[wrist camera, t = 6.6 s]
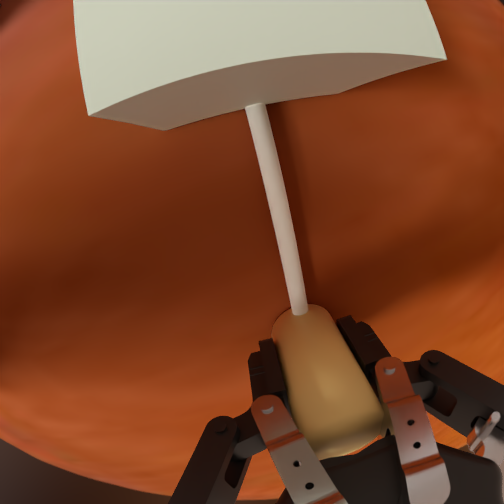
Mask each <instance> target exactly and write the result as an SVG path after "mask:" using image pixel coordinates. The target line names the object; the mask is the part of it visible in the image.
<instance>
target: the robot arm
mask: <svg viewBox="0 0 504 504" xmlns="http://www.w3.org/2000/svg"><path fill="white" fill-rule="evenodd" d="M336 325H337V327H338V329H339V331H340V332H341V334H342V336H343V338H344V339H345V341H346V343H347V345H348V346H349V348H350V350H351V352H352V353H353V355H354V357H355V359H356V360H357V362H358V364H359V366H360V367H361V369H362V371H363V373H364V375H365V376H366V378H367V380H368V382H369V384H370V385H371V387H372V389H373V391H374V393H375V395H376V396H377V398H378V400H379V402H380V404H381V406H382V409H383V411H384V416H383V421H382V425H381V429H380V434H379V435H378V440H377V441H376V442H374V443H373V444H371V445H370V446H368V447H367V448H365V449H364V450H362V451H360V452H359V453H357V454H354V455H346V456H338V457H330V458H326V459H323V460H320V461H319V460H318V458H317V456H316V455H315V453H314V452H313V450H312V448H311V447H310V445H309V443H308V442H307V440H306V438H305V437H304V435H303V434H302V433H301V432H299V430H298V429H297V427H296V425H295V423H294V422H293V420H292V416H291V412H290V408H289V404H288V396H287V392H286V388H285V384H284V380H283V377H282V373H281V369H280V365H279V361H278V357H277V353H276V349H275V345H274V342H273V338H270V339H266V340H262V341H259V346H260V351H258V352H254V353H251V355H250V357H249V360H248V366H249V374H250V381H251V389H252V396H253V403H252V405H251V407H250V408H249V410H248V411H246V412H245V413H244V414H242V415H240V416H238V417H235V418H231V417H228V416H218V417H216V418H213V419H212V420H211V421H209V423H208V424H207V426H206V428H205V430H204V432H203V434H202V436H201V438H200V440H199V442H198V444H197V446H196V449H195V451H194V453H193V455H192V457H191V459H190V461H189V463H188V465H187V467H186V469H185V471H184V473H183V475H182V477H181V479H180V481H179V483H178V485H177V487H176V489H175V491H174V493H173V495H172V497H171V499H170V501H169V503H168V504H235V501H236V499H237V496H238V493H239V491H240V488H241V485H242V483H243V480H244V477H245V475H246V472H247V469H248V466H249V463H250V460H251V458H252V455H254V454H256V453H259V452H261V451H263V450H265V449H266V448H267V449H268V451H269V453H270V455H271V458H272V460H273V462H274V464H275V466H276V468H277V470H278V472H279V474H280V476H281V478H282V480H283V482H284V484H285V486H286V488H285V489H284V491H283V493H282V494H281V496H280V498H279V499H278V501H277V502H276V504H504V503H503V497H502V473H501V470H500V468H499V466H500V465H501V463H502V461H503V460H504V385H502V384H500V383H498V382H496V381H495V380H493V379H491V378H489V377H487V376H485V375H483V374H482V373H480V372H478V371H476V370H474V369H472V368H470V367H468V366H467V365H465V364H463V363H461V362H459V361H457V360H455V359H454V358H452V357H450V356H448V355H446V354H444V353H442V352H440V351H437V350H430V351H427V352H425V353H424V354H423V355H422V356H421V358H420V360H418V361H411V362H402V361H401V360H400V359H398V358H396V357H392V356H391V355H390V353H389V352H388V351H387V349H386V348H385V346H384V345H383V344H382V342H381V341H380V339H379V338H378V337H377V335H376V334H375V333H374V331H373V330H372V328H371V327H370V326H369V325H368V324H366V323H364V322H362V321H361V322H358V323H356V322H355V321H354V319H353V318H352V317H351V316H350V315H349V316H346V317H343V318H340V319H337V320H336ZM426 411H427V412H429V413H430V414H432V415H433V416H435V417H436V418H438V419H439V420H441V421H442V422H444V423H445V424H447V425H448V426H450V427H451V428H453V429H455V430H456V431H458V432H459V433H461V434H462V435H464V436H465V437H467V444H468V446H469V450H471V451H474V453H475V454H471V453H468V452H464V451H461V450H458V449H455V448H452V447H449V446H446V445H443V444H440V443H437V442H435V438H434V435H433V432H432V428H431V425H430V422H429V419H428V416H427V413H426Z"/></svg>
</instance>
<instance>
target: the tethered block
mask: <svg viewBox="0 0 504 504" xmlns="http://www.w3.org/2000/svg"><path fill="white" fill-rule="evenodd" d="M73 4H74V22H75V34H76V43H77V52H78V60H79V67H80V73H81V79H82V85H83V91H84V96H85V101H86V106H87V111H88V116H92V117H98V118H104V119H110V120H115V121H120V122H126V123H131V124H135V125H140V126H145V127H149V128H154V129H158V130H162V131H166V130H169V129H172V128H176V127H179V126H182V125H185V124H188V123H192V122H195V121H199V120H202V119H206V118H209V117H213V116H217V115H221V114H225V113H229V112H233V111H237V110H242V109H245V110H246V114H247V118H248V122H249V126H250V129H251V133H252V137H253V141H254V145H255V149H256V153H257V157H258V162H259V166H260V170H261V174H262V178H263V182H264V186H265V191H266V195H267V199H268V203H269V208H270V212H271V216H272V221H273V225H274V230H275V234H276V238H277V243H278V247H279V252H280V257H281V261H282V266H283V270H284V275H285V280H286V284H287V289H288V294H289V299H290V304H291V308H290V309H289V310H287V311H285V312H284V313H283V314H282V315H280V316H279V318H278V319H277V320H276V322H275V323H274V325H273V328H272V333H271V336H272V338H273V342H274V345H275V349H276V353H277V357H278V361H279V365H280V369H281V373H282V377H283V380H284V384H285V388H286V392H287V396H288V404H289V408H290V412H291V416H292V420H293V422H294V423H295V425H296V427H297V429H298V430H299V432H301V433H302V434H303V435H304V437H305V438H306V440H307V442H308V443H309V445H310V447H311V448H312V450H313V452H314V453H315V455H316V456H317V458H318V460H322V459H326V458H330V457H338V456H343V455H346V454H349V453H351V452H353V451H356V450H358V449H360V448H361V447H363V446H365V445H367V444H368V443H370V442H371V441H372V440H374V439H375V438H376V437H377V436H378V435H379V434H380V429H381V425H382V421H383V416H384V411H383V409H382V406H381V404H380V402H379V400H378V398H377V396H376V395H375V393H374V391H373V389H372V387H371V385H370V384H369V382H368V380H367V378H366V376H365V375H364V373H363V371H362V369H361V367H360V366H359V364H358V362H357V360H356V359H355V357H354V355H353V353H352V352H351V350H350V348H349V346H348V345H347V343H346V341H345V339H344V338H343V336H342V334H341V332H340V331H339V329H338V327H337V325H336V324H335V322H334V320H333V319H332V317H331V315H330V314H329V312H328V311H327V310H326V309H325V308H323V307H321V306H319V305H315V304H307V299H306V293H305V287H304V281H303V276H302V270H301V265H300V259H299V254H298V249H297V244H296V238H295V233H294V228H293V223H292V218H291V214H290V209H289V204H288V199H287V195H286V190H285V185H284V181H283V176H282V172H281V168H280V163H279V159H278V155H277V150H276V146H275V142H274V138H273V134H272V130H271V126H270V122H269V118H268V114H267V110H266V106H265V104H270V103H276V102H281V101H287V100H293V99H300V98H307V97H314V96H322V95H331V94H338V93H341V92H344V91H346V90H349V89H352V88H354V87H357V86H360V85H363V84H365V83H368V82H371V81H374V80H377V79H380V78H383V77H386V76H389V75H392V74H396V73H399V72H402V71H406V70H409V69H413V68H416V67H420V66H424V65H427V64H431V63H435V62H439V61H444V60H447V58H446V55H445V51H444V48H443V45H442V42H441V39H440V36H439V33H438V31H437V28H436V25H435V23H434V20H433V17H432V15H431V13H430V10H429V8H428V5H427V3H426V1H425V0H73Z"/></svg>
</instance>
